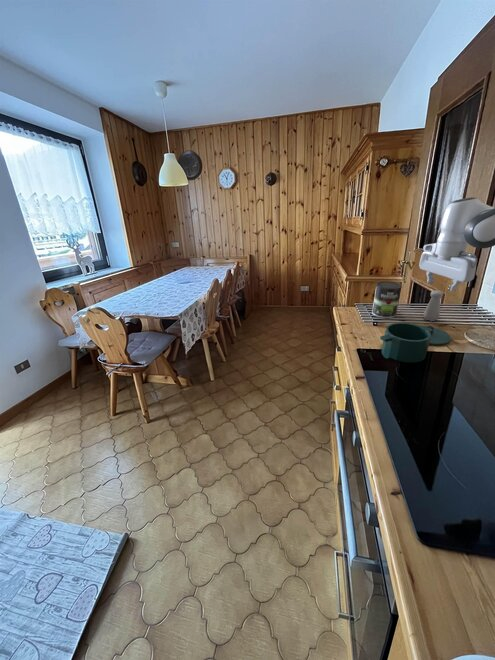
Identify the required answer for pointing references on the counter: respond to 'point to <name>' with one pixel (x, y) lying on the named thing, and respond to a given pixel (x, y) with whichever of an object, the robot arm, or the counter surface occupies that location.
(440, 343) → the lid
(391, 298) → the coffee can
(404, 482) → the counter surface
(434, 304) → the salt shaker
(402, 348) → the pot
